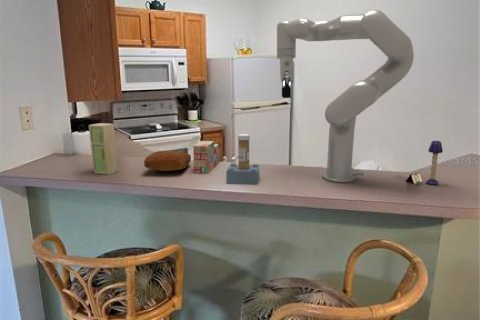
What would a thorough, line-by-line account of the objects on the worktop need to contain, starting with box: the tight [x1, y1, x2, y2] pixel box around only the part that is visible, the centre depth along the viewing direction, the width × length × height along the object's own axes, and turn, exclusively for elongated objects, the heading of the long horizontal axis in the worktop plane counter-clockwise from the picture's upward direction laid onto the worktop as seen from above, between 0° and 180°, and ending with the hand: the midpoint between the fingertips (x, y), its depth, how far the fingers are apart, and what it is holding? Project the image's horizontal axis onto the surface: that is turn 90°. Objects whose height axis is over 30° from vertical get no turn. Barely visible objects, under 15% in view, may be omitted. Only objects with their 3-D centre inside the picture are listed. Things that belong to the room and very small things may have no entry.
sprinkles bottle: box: [237, 133, 250, 169], centre depth 137 cm, size 5×5×14 cm
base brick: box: [225, 162, 260, 185], centre depth 139 cm, size 12×10×6 cm
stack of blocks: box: [192, 140, 220, 175], centre depth 159 cm, size 21×6×12 cm, turn 170°
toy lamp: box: [425, 140, 444, 187], centre depth 132 cm, size 5×5×17 cm
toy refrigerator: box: [88, 122, 119, 175], centre depth 150 cm, size 8×7×21 cm
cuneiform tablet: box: [143, 150, 192, 172], centre depth 155 cm, size 22×17×8 cm
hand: (286, 97), depth 145 cm, fingers open, 9 cm apart
